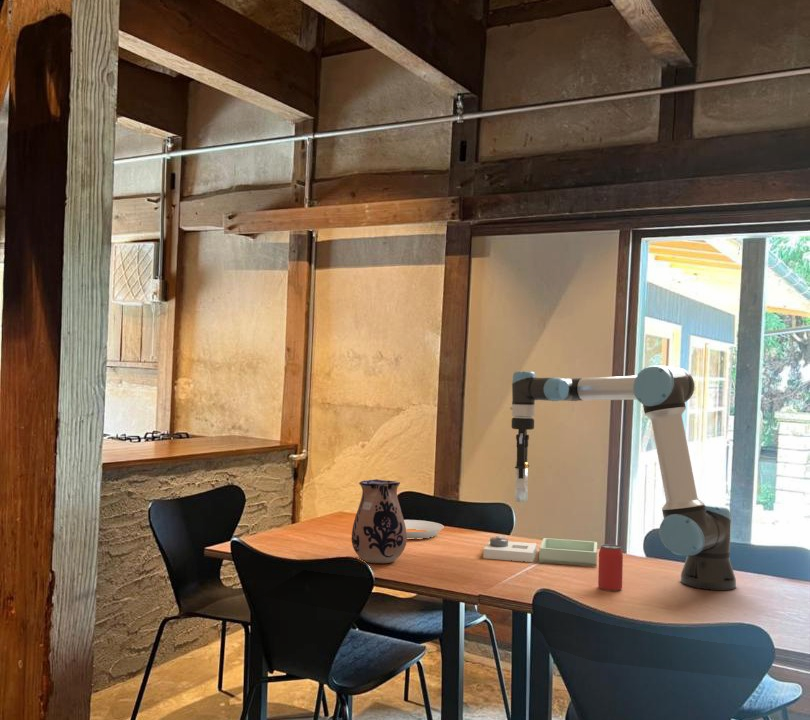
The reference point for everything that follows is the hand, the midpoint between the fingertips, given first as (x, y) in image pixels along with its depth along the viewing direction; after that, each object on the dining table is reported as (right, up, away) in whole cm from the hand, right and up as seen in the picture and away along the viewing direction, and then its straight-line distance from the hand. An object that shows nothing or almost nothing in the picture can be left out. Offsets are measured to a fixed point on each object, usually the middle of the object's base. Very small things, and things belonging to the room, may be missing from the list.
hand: (521, 487), depth 265 cm
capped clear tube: (0, -5, 0) cm, 5 cm away
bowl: (-37, -23, +31) cm, 54 cm away
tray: (+15, -23, -3) cm, 28 cm away
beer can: (+19, -22, -41) cm, 50 cm away
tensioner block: (-4, -23, 0) cm, 23 cm away
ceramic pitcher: (-48, -21, -12) cm, 54 cm away
